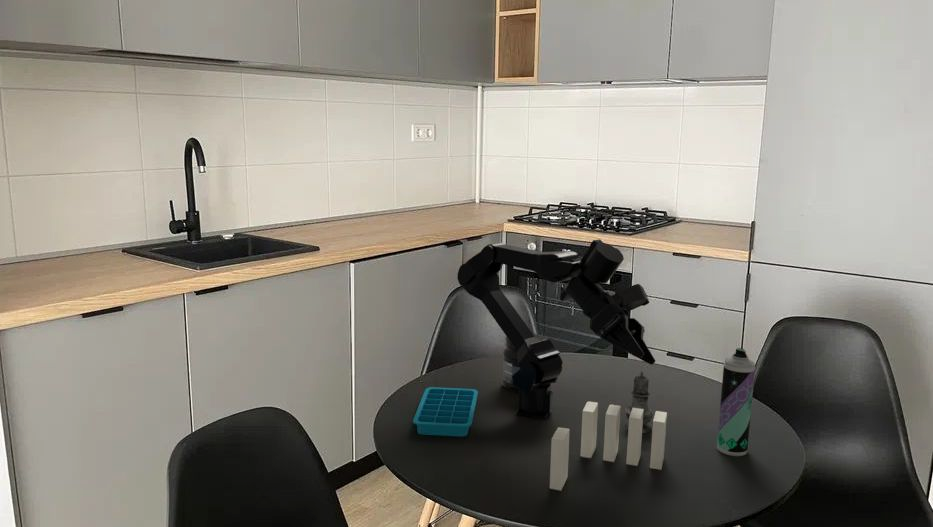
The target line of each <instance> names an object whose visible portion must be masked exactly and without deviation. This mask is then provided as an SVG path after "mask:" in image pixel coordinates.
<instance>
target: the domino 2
mask: <svg viewBox="0 0 933 527" xmlns="http://www.w3.org/2000/svg"><path fill="white" fill-rule="evenodd" d="M598 414H599V402H595V401H590V400H589V401H587V402H586V404H585V406H584V408H583V409H582V417H581V418H582V419H581V439H580V440H581V441H580V457H581V458H587V459H592V457H593V455H594V453H595V450H596V448H597V432H598Z"/></svg>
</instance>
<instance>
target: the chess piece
mask: <svg viewBox="0 0 933 527" xmlns="http://www.w3.org/2000/svg"><path fill="white" fill-rule="evenodd" d="M631 395H632V401H631V402H632V403H631V405H630V406H626V407H625V408H624V412H625V414H626V415H625V416H626V419H627V420H628V421H629V416H630V414H631V411H632V408H639V409H644V412H643V427H642V434H647V433H650V432H651V431H652V430H653V427H652V425H650V424H649V423H650V422H651V421H652V419H653V417H654V416H655V411H654V410H653V409H652V408H650V407H649V396H650V395H651V394H650V392H649V378H648V377H647V376H645V375H644V372H643V371H640V373H639V374H638V375H636V376H635V377H634V379H633V390H632V391H631ZM624 427H625V429H626V430H628V428H629V422H628V423H626V424H625V426H624Z"/></svg>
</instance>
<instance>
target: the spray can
mask: <svg viewBox="0 0 933 527" xmlns="http://www.w3.org/2000/svg"><path fill="white" fill-rule="evenodd" d="M746 353H747V351H746V350H745V349H744V348H741V347H737V348H736V349H735V352H734V353H733V354H732V355H731V356H729V357H726V358H725V359H724V363H723V370H722V371H723V372H722V380H721V381H722V382H721V383H722V384H721V395H720V403H719V404H720V406H719V407H720V408H719V418H718V429H717V430H718V431H717V442H716V449H717V450H718V451H719V452H720V453H722V454H724V455H727V456H732V457H741V456H742V457H743V456H745V455H746V454H747V453H748V448H749V435H750V426H751V425H750V424H751V414H752V403H753V392H754V383H755V372H756V367H755V365H756V363H755V361H754V360H752V359H750V357H749V356H748V354H746Z"/></svg>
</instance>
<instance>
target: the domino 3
mask: <svg viewBox="0 0 933 527" xmlns="http://www.w3.org/2000/svg"><path fill="white" fill-rule="evenodd" d="M621 406H622V405H617V404H616V405H615V404H612V403H611V404H609V406H608V408H607V411H606V412H605V420H604V436H603V437H604V440H603V453H602V454H603V457H602V458H603V459H602V460H603V461H606V462H611V463H615V461H616V458H617V455H618V452H619V440H620V425H621V423H620V422H621V409H622V408H621Z"/></svg>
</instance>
